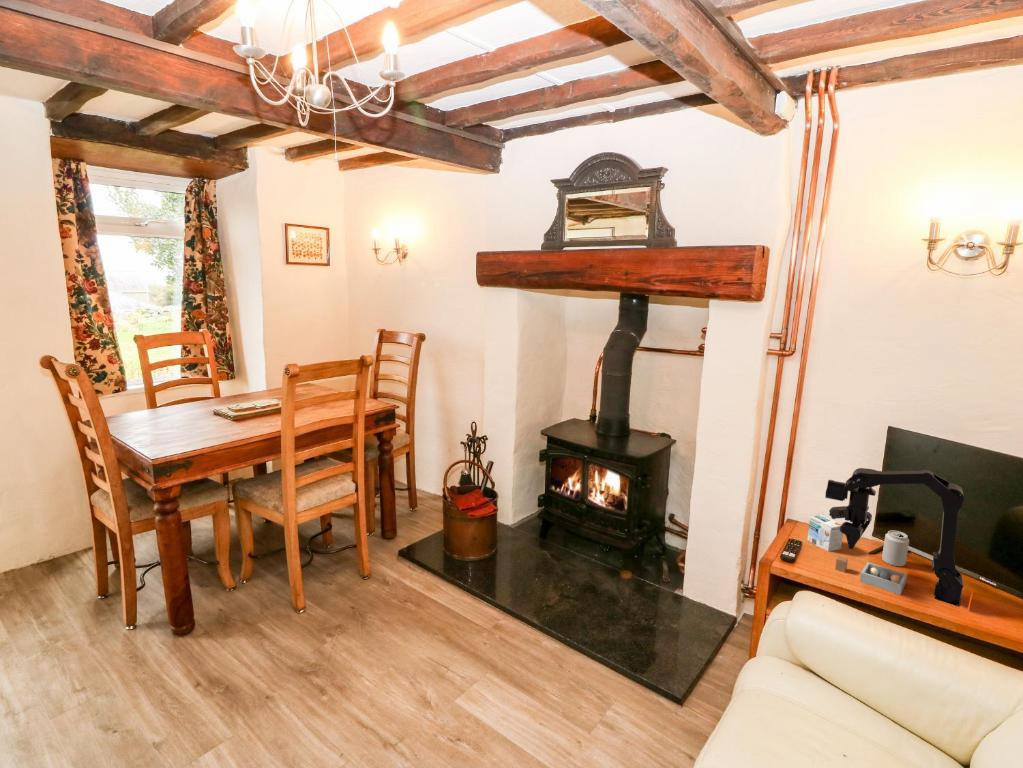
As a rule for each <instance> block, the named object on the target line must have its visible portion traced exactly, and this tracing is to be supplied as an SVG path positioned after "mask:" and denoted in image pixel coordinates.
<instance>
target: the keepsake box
mask: <svg viewBox="0 0 1023 768" xmlns="http://www.w3.org/2000/svg"><path fill="white" fill-rule="evenodd" d="M870 568H876V569H877V570H878V571H879V575H878V576H874V575H870V573H869V570H870ZM882 571H886V572H888V573H889V575H890V578H889V579H888V580H886V579H883V578H881V577H880V573H881V572H882ZM892 575H898V576H899V577H900V578H901V581H900V583H895V582H892V581H891V576H892ZM907 577H908V574H907V573H905V572H901V571H898V570H894V569H892V568H889V567H885V566H882V565H878V564H877V563H876V564H875V563H872V562H870V561H866V564H865V565H864V566H863V568H862V569H861V572H860V576H859V582H860V583H863V584H865V585H868V586H872V587H875V588H877V589H881V590H884V591H886V592H890V593H893V594H895V595H896V594H897V595H899V596H901V595H902V592H903V590H904V588H905V586H906V583H907Z"/></svg>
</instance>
